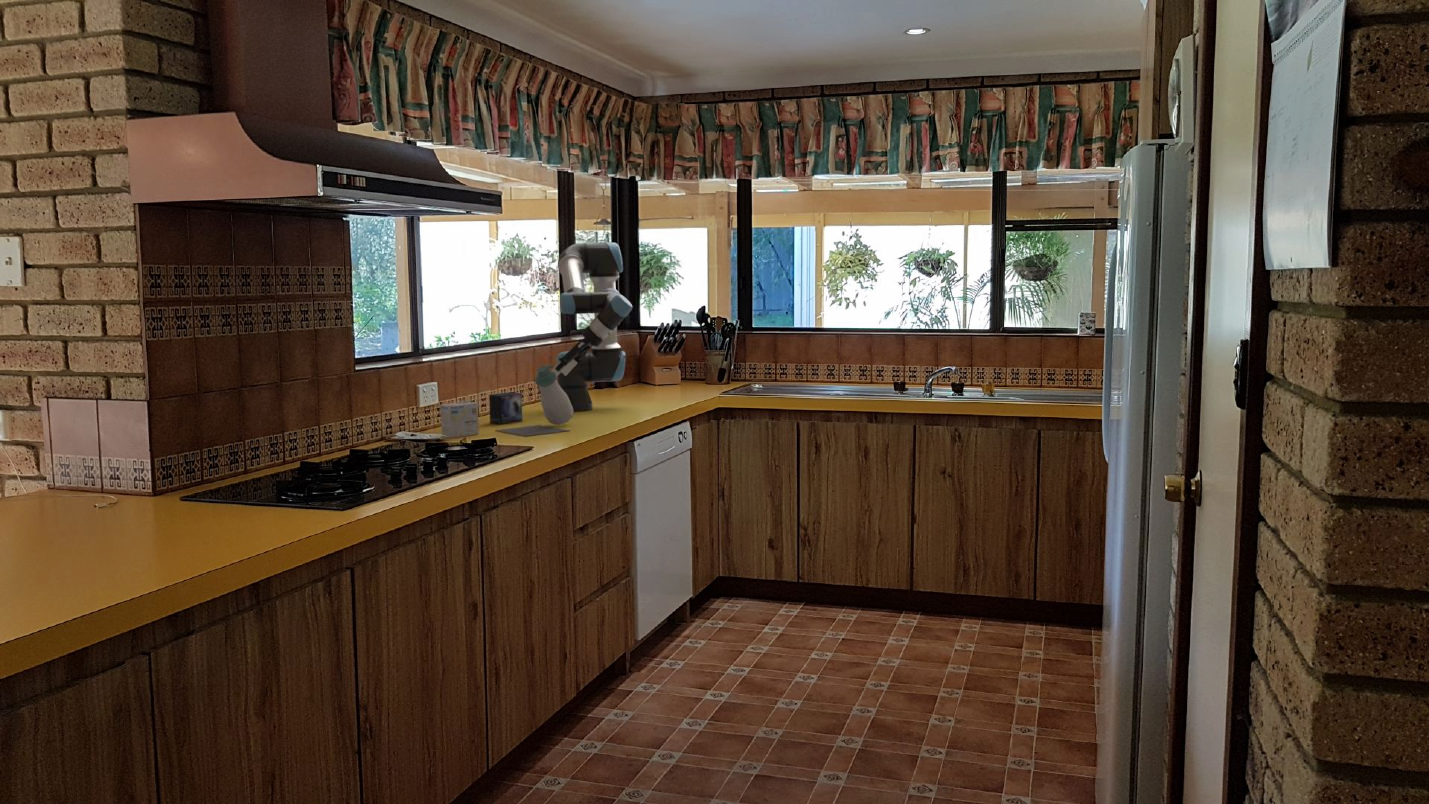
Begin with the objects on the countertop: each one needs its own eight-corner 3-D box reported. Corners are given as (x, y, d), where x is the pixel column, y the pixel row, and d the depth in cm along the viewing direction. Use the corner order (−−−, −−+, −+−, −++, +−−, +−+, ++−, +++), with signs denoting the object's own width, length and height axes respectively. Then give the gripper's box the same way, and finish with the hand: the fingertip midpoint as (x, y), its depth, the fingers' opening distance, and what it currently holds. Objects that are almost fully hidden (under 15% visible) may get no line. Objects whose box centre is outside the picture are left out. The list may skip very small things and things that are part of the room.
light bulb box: (468, 432, 363) (467, 401, 362) (479, 434, 358) (478, 402, 357) (440, 436, 356) (439, 404, 354) (451, 438, 351) (449, 405, 349)
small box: (501, 424, 381) (500, 395, 380) (489, 423, 385) (487, 394, 384) (523, 421, 389) (522, 392, 388) (511, 420, 393) (510, 391, 392)
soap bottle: (577, 419, 375) (559, 372, 359) (551, 430, 373) (531, 383, 358) (570, 402, 382) (551, 355, 366) (544, 413, 380) (524, 366, 365)
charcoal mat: (538, 425, 376) (538, 424, 376) (569, 431, 361) (569, 430, 361) (495, 431, 365) (495, 430, 365) (525, 436, 350) (525, 435, 350)
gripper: (594, 341, 364) (553, 385, 368) (613, 337, 388) (574, 378, 392) (579, 326, 364) (538, 370, 368) (598, 323, 388) (560, 364, 393)
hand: (557, 375), depth 380 cm, fingers open, 13 cm apart
